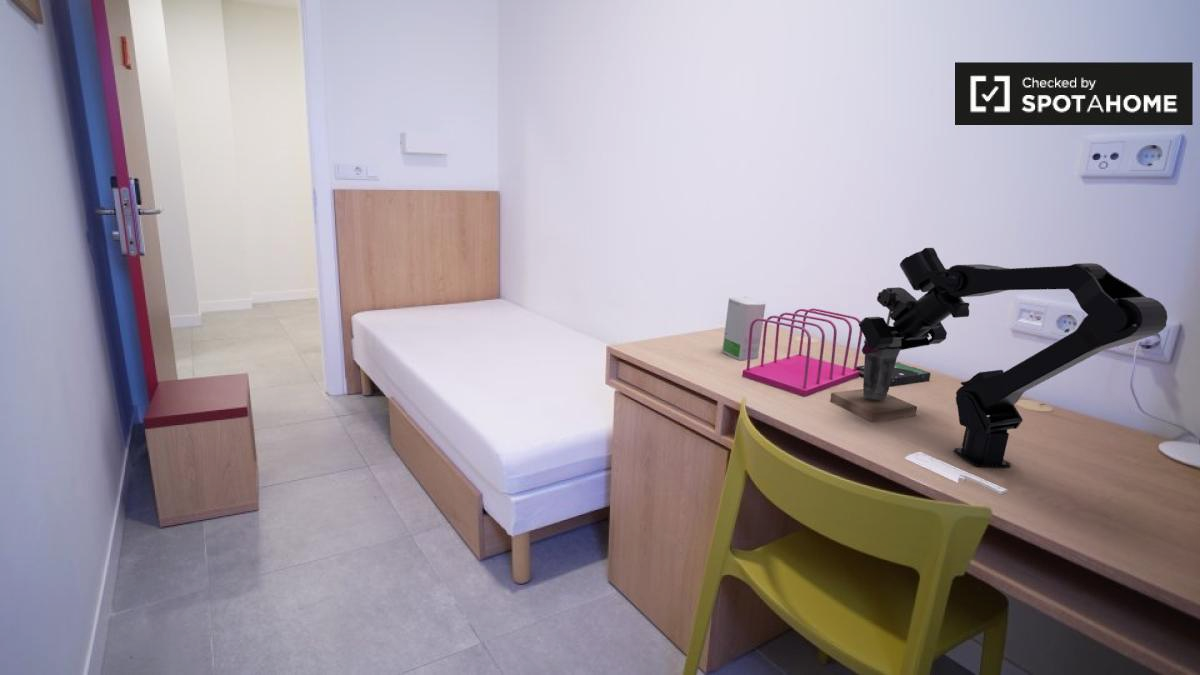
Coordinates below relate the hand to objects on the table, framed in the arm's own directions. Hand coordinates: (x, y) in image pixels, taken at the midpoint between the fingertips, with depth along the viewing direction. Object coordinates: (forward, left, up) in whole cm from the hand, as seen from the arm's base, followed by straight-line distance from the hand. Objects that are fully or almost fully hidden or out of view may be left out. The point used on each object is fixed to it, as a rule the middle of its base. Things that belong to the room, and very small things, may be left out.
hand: (876, 351), depth 128 cm
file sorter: (+20, +7, -13) cm, 25 cm away
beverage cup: (-1, 0, -10) cm, 10 cm away
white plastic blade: (-31, +1, -13) cm, 34 cm away
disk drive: (+20, -16, -13) cm, 29 cm away
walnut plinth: (-1, 0, -12) cm, 13 cm away
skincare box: (+37, +18, -13) cm, 43 cm away
